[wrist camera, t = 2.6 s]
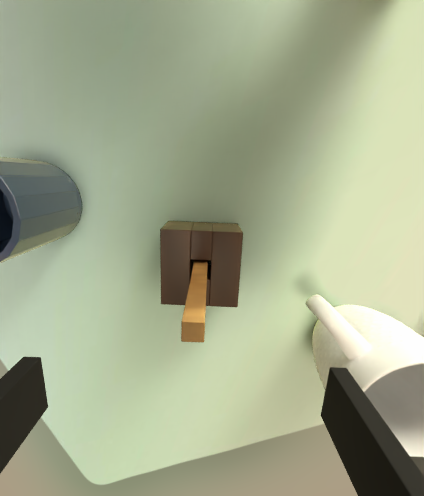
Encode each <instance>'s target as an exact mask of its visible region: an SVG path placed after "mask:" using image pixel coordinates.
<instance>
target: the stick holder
mask: <svg viewBox="0 0 424 496" xmlns="http://www.w3.org/2000/svg"><path fill="white" fill-rule="evenodd" d="M242 240H243V232H242V230H241V228H240V227H239V225H238V224H232V223H207V222H183V221H168V222H167V223H166V224H165V225H164V226H163V227H162V228H161V229H160V246H161V304H169V305H185V303H186V299H187V294H188V289H189V284H190V279H191V274H192V270H193V265H194V264H193V260H211V265H210V264H208V268H207V289H206V306H221V307H237V306H238V293H239V280H240V266H241V253H242Z"/></svg>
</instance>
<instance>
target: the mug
mask: <svg viewBox="0 0 424 496" xmlns="http://www.w3.org/2000/svg"><path fill="white" fill-rule="evenodd" d="M306 306H307V307H308V308H309V309H310V310H311V311H312V312H313V314H314V315H315V316H316V317H317V318H318V320H317V322H316V325H315V327H314V331H313V335H312V337H313V338H312V344H313V345H312V349H313V355H314V360H315V364H316V367H317V371H318V373H319V376H320V379H321V381H322V383H323V385H324V388H325V390H326V385H327V380H328V374H329V369H330V367H339V368H347V369H348V371H349V372H350V373H351V375H352V376H353V378H354V379H355V380H356V382H357V383H358V385H359V386H360V387H361V389H362V390H363V392H364V393H365V394H366V396H367V397H368V399H369V400H370V401H371V403H372V404H373V406H374V407H375V408H376V410H377V411H378V413H379V414H380V415H381V417H382V418H383V420H384V421H385V422H386V424H387V425H388V426H389V428H390V429H391V431H392V432H393V433H394V435H395V436H396V438H397V439H398V440H399V442H400V443H401V445H402V446H403V447H404V449H405V450H406V452H407V453H408V454H409V456H414V457H424V337H423V336H421V335H419V334H417V333H416V332H414V331H413V330H412V329H411V328H409V327H407V326H405V325H404V324H403V323H401V322H400V321H397V320H395V319H394V318H392V317H390V316H387V315H385V314H384V313H382V312H378V311H376V310H374V309H370V308H368V307H363V306H359V305H340V306H336V307H332V306H331V305H330V304H329V303H328V302H327V301H326V300H325V299H324V298H323V297H321V296H320V295H318V294H317V295H313V296H311V297H310V298H309V299H308V300H307V301H306Z"/></svg>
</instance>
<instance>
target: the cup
mask: <svg viewBox="0 0 424 496" xmlns="http://www.w3.org/2000/svg"><path fill="white" fill-rule="evenodd" d="M81 213H82V201H81V197H80V193H79V191H78V188H77V187H76V185H75V183H74V182H73V180H72V179H71V178H70V177H69V176H68V175H67V174H66V173H65V172H64V171H63V170H61V169H60V168H58V167H56V166H54V165H52V164H49V163H46V162H41V161H37V160H28V159H18V158H7V157H0V263H2V262H4V261H7V260H9V259H12V258H14V257H16V256H19V255H21V254H24V253H26V252H29V251H31V250H34V249H36V248H39V247H41V246H43V245H46V244H48V243H51V242H53V241H56V240H58V239H60V238H62V237H64V236H66V235H67V234H69V233H70V232H71V231H73V230H74V228H75V227H76V226H77V224H78V222H79V220H80V217H81Z"/></svg>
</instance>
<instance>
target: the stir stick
mask: <svg viewBox="0 0 424 496" xmlns="http://www.w3.org/2000/svg"><path fill="white" fill-rule="evenodd" d="M207 268H208V260H194V265H193V270H192V274H191V279H190V284H189V289H188V294H187V299H186V303H185V308H184V313H183V318H182V334H181V341H182V342H204V333H205V311H206V289H207Z"/></svg>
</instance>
